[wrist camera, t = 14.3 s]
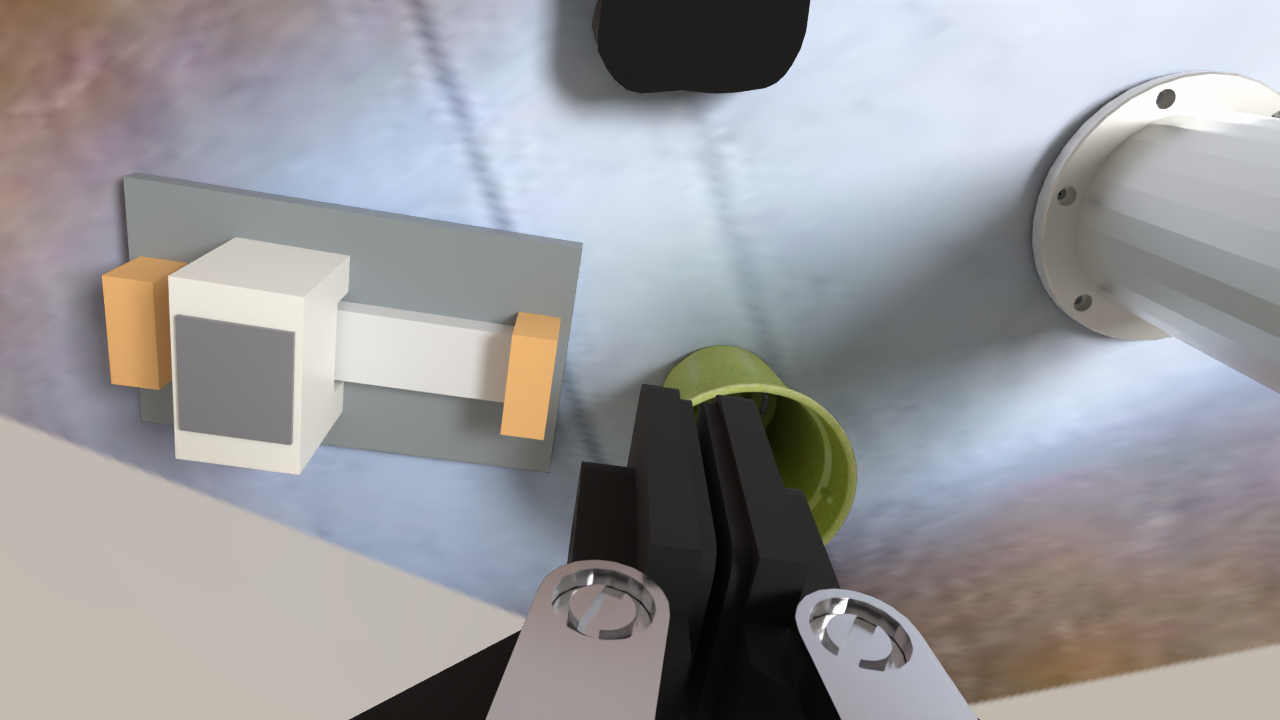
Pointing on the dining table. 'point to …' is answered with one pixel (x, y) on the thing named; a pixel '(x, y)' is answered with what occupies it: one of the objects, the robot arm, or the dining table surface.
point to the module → (255, 354)
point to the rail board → (373, 317)
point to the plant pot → (780, 428)
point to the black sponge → (699, 43)
